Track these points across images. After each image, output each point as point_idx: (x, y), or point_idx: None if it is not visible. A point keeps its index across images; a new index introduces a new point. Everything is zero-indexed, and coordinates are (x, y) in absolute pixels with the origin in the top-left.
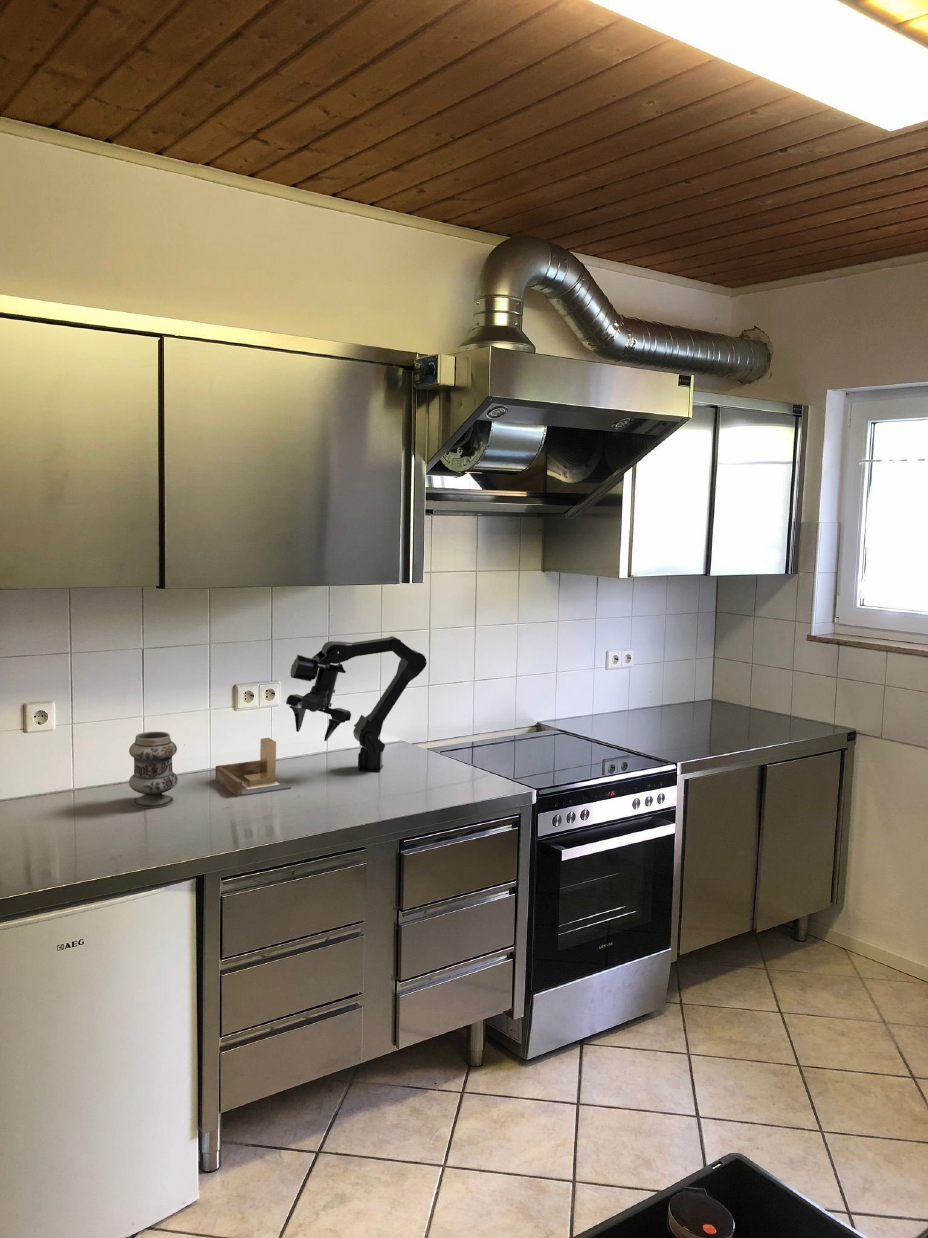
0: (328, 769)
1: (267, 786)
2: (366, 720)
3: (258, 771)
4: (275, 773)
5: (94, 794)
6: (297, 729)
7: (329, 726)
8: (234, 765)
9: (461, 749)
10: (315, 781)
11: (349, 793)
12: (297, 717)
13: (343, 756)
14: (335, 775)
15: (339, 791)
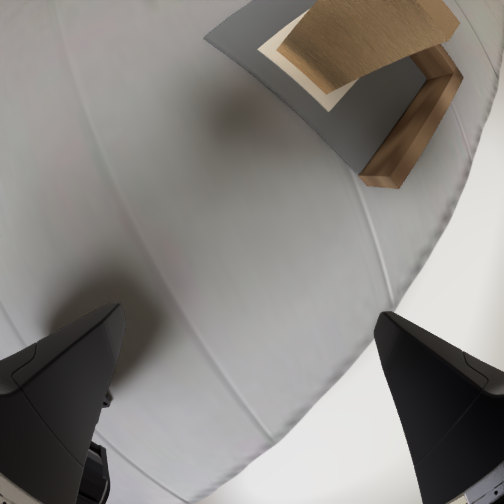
0: (180, 325)
1: (287, 24)
2: None
3: (385, 148)
4: (290, 32)
5: (486, 13)
6: (393, 318)
7: (16, 372)
8: (441, 93)
9: None
10: (150, 155)
11: (5, 102)
12: (471, 370)
13: (213, 441)
14: (116, 268)
15: (33, 98)
